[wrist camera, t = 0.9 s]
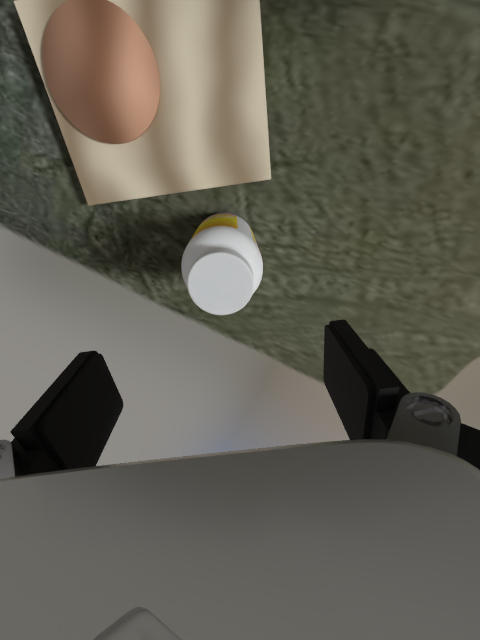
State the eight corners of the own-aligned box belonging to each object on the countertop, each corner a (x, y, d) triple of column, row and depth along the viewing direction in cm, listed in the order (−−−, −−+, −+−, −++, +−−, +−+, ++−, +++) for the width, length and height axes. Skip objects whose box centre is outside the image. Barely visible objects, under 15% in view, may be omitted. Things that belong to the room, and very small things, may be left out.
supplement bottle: (182, 246, 30) (152, 289, 19) (221, 197, 28) (212, 212, 16) (228, 283, 32) (226, 342, 21) (267, 241, 30) (288, 281, 19)
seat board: (255, -28, 20) (257, -47, 19) (269, 179, 27) (271, 179, 25) (27, 12, 21) (9, -3, 19) (95, 204, 28) (86, 205, 26)
